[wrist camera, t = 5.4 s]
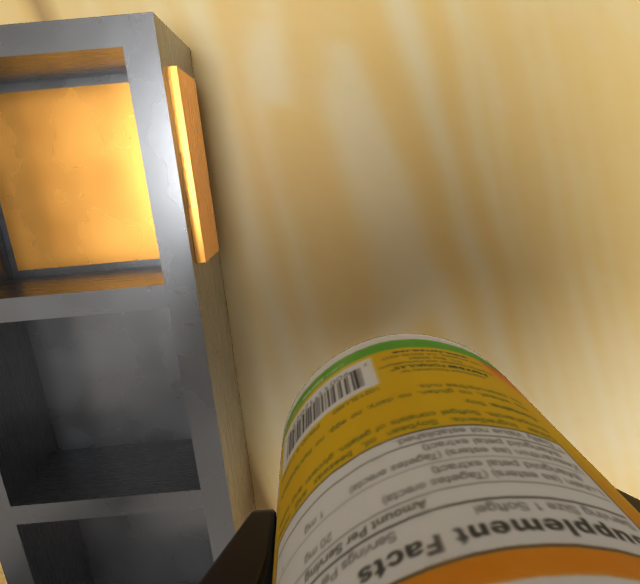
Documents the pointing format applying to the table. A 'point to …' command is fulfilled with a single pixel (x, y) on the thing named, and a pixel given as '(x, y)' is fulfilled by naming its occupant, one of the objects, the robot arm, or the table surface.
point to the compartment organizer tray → (111, 313)
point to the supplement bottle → (439, 479)
